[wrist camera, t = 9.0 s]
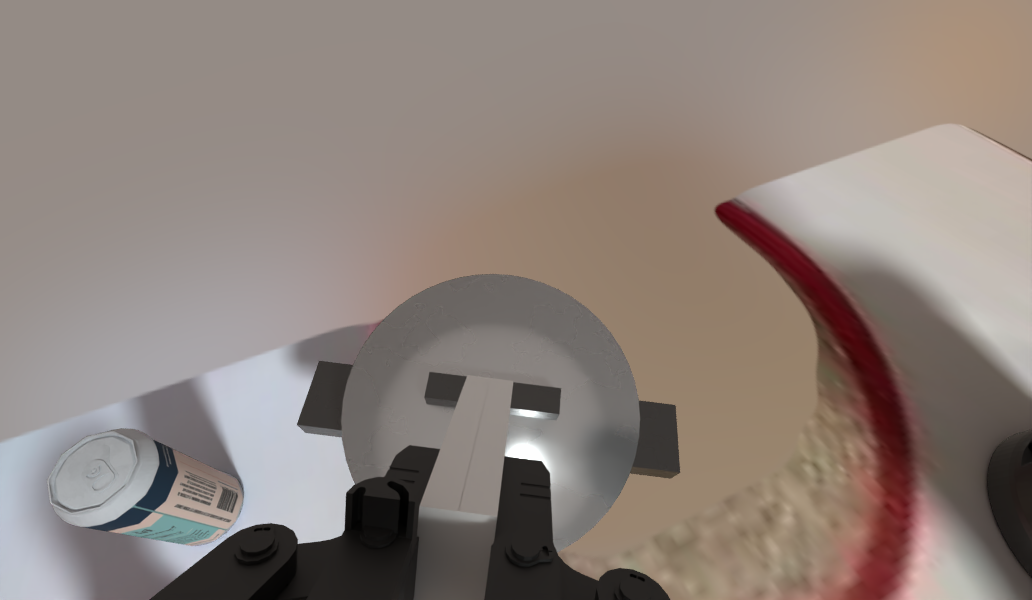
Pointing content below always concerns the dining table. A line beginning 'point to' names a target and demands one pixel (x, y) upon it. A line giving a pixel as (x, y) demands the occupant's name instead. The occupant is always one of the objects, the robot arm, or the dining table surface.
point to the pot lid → (508, 356)
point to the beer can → (143, 490)
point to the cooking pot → (651, 459)
